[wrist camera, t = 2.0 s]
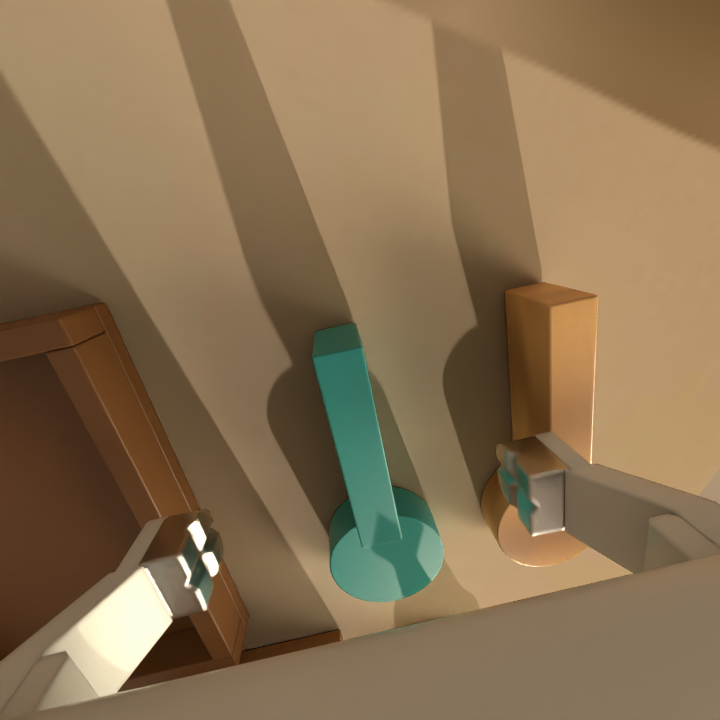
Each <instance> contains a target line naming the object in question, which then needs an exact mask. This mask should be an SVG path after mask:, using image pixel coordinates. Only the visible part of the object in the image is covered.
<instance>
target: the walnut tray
mask: <svg viewBox="0 0 720 720" xmlns="http://www.w3.org/2000/svg"><path fill="white" fill-rule="evenodd" d="M197 510H200V508H199V506H198V504H197V501H196V499H195V497H194V495H193V493H192V490H191V488H190V486H189V484H188V482H187V480H186V477H185V475H184V473H183V471H182V469H181V466H180V464H179V462H178V460H177V458H176V456H175V453H174V451H173V449H172V447H171V445H170V443H169V440H168V438H167V436H166V434H165V432H164V429H163V427H162V425H161V423H160V421H159V419H158V416H157V414H156V412H155V410H154V408H153V405H152V403H151V401H150V399H149V397H148V395H147V392H146V390H145V388H144V386H143V384H142V381H141V379H140V377H139V375H138V373H137V371H136V368H135V366H134V364H133V362H132V360H131V357H130V355H129V353H128V351H127V349H126V347H125V344H124V342H123V340H122V338H121V336H120V333H119V331H118V329H117V327H116V325H115V323H114V320H113V318H112V316H111V314H110V312H109V309H108V307H107V305H106V304H105V303H98V304H93V305H89V306H84V307H79V308H75V309H70V310H65V311H61V312H56V313H51V314H46V315H42V316H37V317H32V318H28V319H23V320H18V321H14V322H9V323H4V324H0V661H1V660H3V659H4V658H5V657H6V656H7V655H9V654H10V653H11V652H12V651H14V650H15V649H16V648H17V647H19V646H20V645H21V644H22V643H24V642H25V641H26V640H27V639H28V638H30V637H31V636H32V635H33V634H35V633H36V632H37V631H38V630H40V629H41V628H42V627H43V626H45V625H46V624H47V623H48V622H49V621H51V620H52V619H53V618H54V617H56V616H57V615H58V614H59V613H61V612H62V611H63V610H64V609H66V608H67V607H68V606H69V605H71V604H72V603H73V602H74V601H75V600H77V599H78V598H79V597H80V596H82V595H83V594H84V593H85V592H87V591H88V590H89V589H90V588H92V587H93V586H94V585H95V584H96V583H98V582H99V581H100V580H101V579H103V578H104V577H105V576H106V575H108V574H109V573H113V572H115V571H116V570H117V568H118V567H119V565H120V564H121V562H122V560H123V559H124V557H125V556H126V554H127V552H128V551H129V549H130V548H131V546H132V545H133V543H134V541H135V540H136V538H137V537H138V535H139V534H140V532H141V530H142V529H143V527H144V526H145V524H146V523H147V522H149V521H150V520H153V519H158V518H162V517H169V516H172V515H177V514H182V513H187V512H192V511H197ZM212 580H213V583H214V585H215V586H214V590H213V593H212V596H211V599H210V602H209V605H208V608H207V611H203V612H199V613H195V614H191V615H187V616H183V617H180V618H176V619H172V620H173V622H172V623H171V624H170V626H169V627H168V628H167V629H166V631H165V632H164V633H163V635H162V636H161V637H160V638H159V640H158V641H157V642H156V643H155V645H154V646H153V647H152V648H151V650H150V651H149V652H148V654H147V655H146V656H145V657H144V659H143V660H142V661H141V662H140V664H139V665H138V666H137V668H136V669H135V670H134V671H133V673H132V674H131V675H130V676H129V678H128V679H127V680H126V681H125V683H124V684H123V685H122V687H121V688H120V689H119V690H118V692H123V691H127V690H131V689H136V688H140V687H144V686H149V685H153V684H157V683H162V682H166V681H170V680H175V679H179V678H183V677H188V676H192V675H196V674H201V673H205V672H209V671H214V670H218V669H222V668H227V667H231V666H235V665H239V663H240V658H241V653H242V648H243V643H244V638H245V633H246V628H247V623H248V618H249V615H248V613H247V610H246V608H245V606H244V604H243V602H242V600H241V597H240V595H239V593H238V591H237V589H236V586H235V584H234V582H233V580H232V578H231V576H230V573H229V571H228V569H227V567H226V565H225V562H224V560H223V561H222V564H221V567H220V570H219V571H218V572H217V573H216V574H215V576H214V577H213V578H212ZM118 692H117V693H118Z"/></svg>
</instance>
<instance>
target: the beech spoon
mask: <svg viewBox="0 0 720 720" xmlns="http://www.w3.org/2000/svg"><path fill="white" fill-rule="evenodd" d="M505 299H506V319H507V338H508V357H509V377H510V396H511V415H512V435H513V441H514V440H518V439H523V438H527V437H531V436H533V435H537V434H541V433H545V432H549V431H550V432H553V433H555V434H556V435H557V436H558V437H559V438H560V439H562V440H563V441H564V442H565V443H566V444H567V445H569V446H570V447H571V448H572V449H573V450H574V451H576V452H577V453H578V454H579V455H580V456H582V457H583V458H584V459H585V460H586V461H587V462H589V463H590V464H591V458H592V434H593V410H594V387H595V363H596V339H597V315H598V296H597V295H595V294H591V293H586V292H582V291H578V290H574V289H570V288H566V287H562V286H558V285H554V284H550V283H546V282H542V283H537V284H532V285H528V286H523V287H519V288H514V289H509V290H506V291H505ZM481 509H482V514H483V516H484V518H485V520H486V522H487V524H488V526H489V528H490V529H491V531H492V533H493V535H494V537H495V539H496V540H497V542H498V544H499V546H500V548H501V549H502V551H503V552H504V553H505V554H506V555H507V556H508V557H509V558H510V559H512V560H514V561H515V562H518V563H520V564H524V565H528V566H548V565H554V564H557V563H561V562H563V561H566V560H568V559H571V558H573V557H574V556H576V555H578V554H580V553H581V552H582V551H584V550H585V549H586V548H588V547H589V546H588V545H586V544H584V543H583V542H581V541H579V540H578V539H576V538H575V537H573V536H571V535H570V534H568V533H566V532H565V530H562V531H557V532H552V533H547V534H542V535H537V536H531V535H530V533H529V532H528V531H527V529H526V528H525V526H524V525H523V523H522V522H521V520H520V519H519V518H518V509H517V508H516V507H514V506H512V505H510V504H509V503H508V501H507V500H506V498H505V496H504V494H503V492H502V490H501V487H500V484H499V480H498V472H497V471H496V472H495V473H494V474H493V476H492V477H491V478H490V479H489V481H488V483H487V484H486V486H485V488H484V491H483V494H482V499H481Z"/></svg>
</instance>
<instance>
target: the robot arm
mask: <svg viewBox="0 0 720 720" xmlns="http://www.w3.org/2000/svg"><path fill="white" fill-rule="evenodd" d="M496 457H497V458H498V460H499V461H500V462H501V465H500V467H499V468H498V470H497V472H498V480H499V484H500V487H501V490H502V492H503V494H504V496H505V498H506V500H507V501H508V503H509V504H510V505H512V506H514V507H516V508H517V509H518V518H519V519H520V520H521V522H522V523H523V525H524V526H525V528H526V529H527V531H528V532H529V533H530V535H531V536H537V535H542V534H547V533H552V532H557V531H562V530H565V532H566V533H568V534H570V535H571V536H573V537H575V538H576V539H578V540H579V541H581V542H583V543H584V544H586V545H588V546H589V547H591V548H593V549H594V550H596V551H598V552H599V553H601V554H603V555H604V556H606V557H608V558H609V559H611V560H613V561H614V562H616V563H618V564H619V565H621V566H623V567H624V568H626V569H628V570H629V571H631V572H633V573H634V574H629V575H625V576H621V577H616V578H612V579H608V580H603V581H599V582H595V583H590V584H586V585H582V586H578V587H573V588H569V589H565V590H560V591H556V592H552V593H547V594H543V595H539V596H534V597H530V598H526V599H521V600H517V601H513V602H508V603H504V604H500V605H495V606H491V607H487V608H482V609H478V610H473V611H469V612H465V613H460V614H456V615H452V616H447V617H443V618H439V619H434V620H430V621H426V622H421V623H417V624H413V625H408V626H404V627H400V628H395V629H391V630H387V631H382V632H378V633H374V634H369V635H365V636H361V637H356V638H352V639H348V640H343V641H339V642H335V643H330V644H326V645H322V646H317V647H313V648H309V649H304V650H300V651H296V652H291V653H287V654H283V655H279V656H274V657H270V658H266V659H261V660H257V661H253V662H248V663H244V664H240V665H235V666H231V667H227V668H222V669H218V670H214V671H209V672H205V673H201V674H196V675H192V676H188V677H183V678H179V679H175V680H170V681H166V682H162V683H157V684H153V685H149V686H144V687H140V688H136V689H131V690H127V691H123V692H118V690H119V689H120V688H121V687H122V685H123V684H124V683H125V681H126V680H127V679H128V678H129V676H130V675H131V674H132V673H133V671H134V670H135V669H136V668H137V666H138V665H139V664H140V662H141V661H142V660H143V659H144V657H145V656H146V655H147V654H148V652H149V651H150V650H151V648H152V647H153V646H154V645H155V643H156V642H157V641H158V640H159V638H160V637H161V636H162V635H163V633H164V632H165V631H166V629H167V628H168V627H169V626H170V624H171V623H172V622H173V620H172V619H176V618H180V617H183V616H187V615H191V614H195V613H199V612H203V611H207V608H208V605H209V602H210V599H211V596H212V593H213V590H214V586H215V585H214V583H213V580H212V578H213V577H214V576H215V574H216V573H217V572H218V571H219V570H220V567H221V564H222V561H223V544H222V539H221V537H220V534H219V532H217V531H216V530H214V529H212V528H211V525H212V522H213V518H212V516H211V514H210V512H209V511H208V510H206V509H202V510H197V511H192V512H187V513H182V514H177V515H172V516H169V517H162V518H158V519H153V520H150V521H149V522H147V523H146V524H145V526H144V527H143V529H142V530H141V532H140V534H139V535H138V537H137V538H136V540H135V541H134V543H133V545H132V546H131V548H130V549H129V551H128V552H127V554H126V556H125V557H124V559H123V560H122V562H121V564H120V565H119V567H118V568H117V570H116V571H115V572H113V573H109V574H108V575H106V576H105V577H104V578H103V579H101V580H100V581H99V582H98V583H96V584H95V585H94V586H93V587H92V588H90V589H89V590H88V591H87V592H85V593H84V594H83V595H82V596H80V597H79V598H78V599H77V600H75V601H74V602H73V603H72V604H71V605H69V606H68V607H67V608H66V609H64V610H63V611H62V612H61V613H59V614H58V615H57V616H56V617H54V618H53V619H52V620H51V621H49V622H48V623H47V624H46V625H45V626H43V627H42V628H41V629H40V630H38V631H37V632H36V633H35V634H33V635H32V636H31V637H30V638H28V639H27V640H26V641H25V642H24V643H22V644H21V645H20V646H19V647H17V648H16V649H15V650H14V651H12V652H11V653H10V654H9V655H7V656H6V657H5V658H4V659H3V660H1V661H0V720H720V504H718V503H717V502H715V501H712V500H709V499H706V498H703V497H700V496H697V495H693V494H690V493H687V492H684V491H681V490H678V489H675V488H671V487H668V486H665V485H662V484H659V483H656V482H653V481H649V480H646V479H643V478H640V477H637V476H634V475H631V474H628V473H624V472H621V471H618V470H615V469H612V468H609V467H606V466H602V465H599V464H594V465H591V464H590V463H589V462H587V461H586V460H585V459H584V458H583V457H582V456H580V455H579V454H578V453H577V452H576V451H574V450H573V449H572V448H571V447H570V446H569V445H567V444H566V443H565V442H564V441H563V440H562V439H560V438H559V437H558V436H557V435H556V434H555V433H553V432H550V431H549V432H545V433H541V434H537V435H533V436H531V437H527V438H523V439H518V440H514V441H509V442H505V443H500V444H497V446H496ZM117 692H118V693H117Z"/></svg>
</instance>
